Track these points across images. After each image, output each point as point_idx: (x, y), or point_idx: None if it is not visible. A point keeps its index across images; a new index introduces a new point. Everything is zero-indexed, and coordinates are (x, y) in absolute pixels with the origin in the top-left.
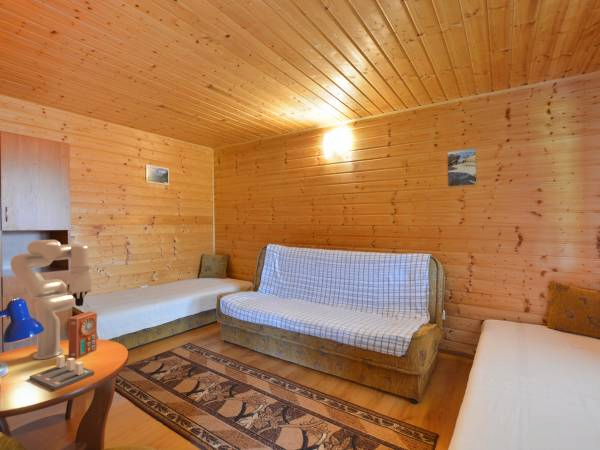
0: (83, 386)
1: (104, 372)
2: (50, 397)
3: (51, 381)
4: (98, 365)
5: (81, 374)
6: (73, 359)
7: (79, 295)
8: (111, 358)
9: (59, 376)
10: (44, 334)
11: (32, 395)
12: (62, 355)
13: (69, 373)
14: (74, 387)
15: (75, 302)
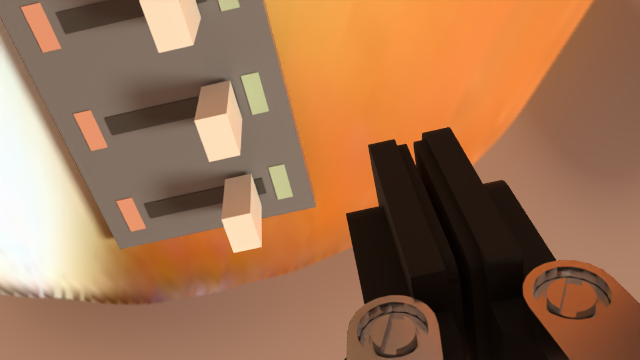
0: (235, 278)
1: (360, 208)
2: (100, 280)
3: (108, 173)
4: (380, 94)
5: None
6: (228, 157)
7: (539, 332)
8: (486, 43)
9: (152, 139)
10: None
11: (27, 212)
12: (181, 14)
13: None
14: (201, 261)
15: (352, 243)
